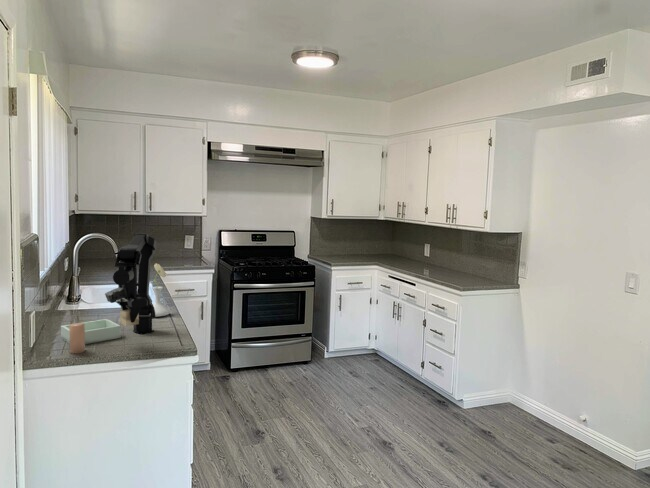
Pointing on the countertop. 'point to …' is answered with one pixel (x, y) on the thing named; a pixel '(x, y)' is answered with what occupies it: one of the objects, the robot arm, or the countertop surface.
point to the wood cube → (127, 318)
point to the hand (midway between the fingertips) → (129, 321)
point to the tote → (95, 331)
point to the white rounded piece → (158, 306)
